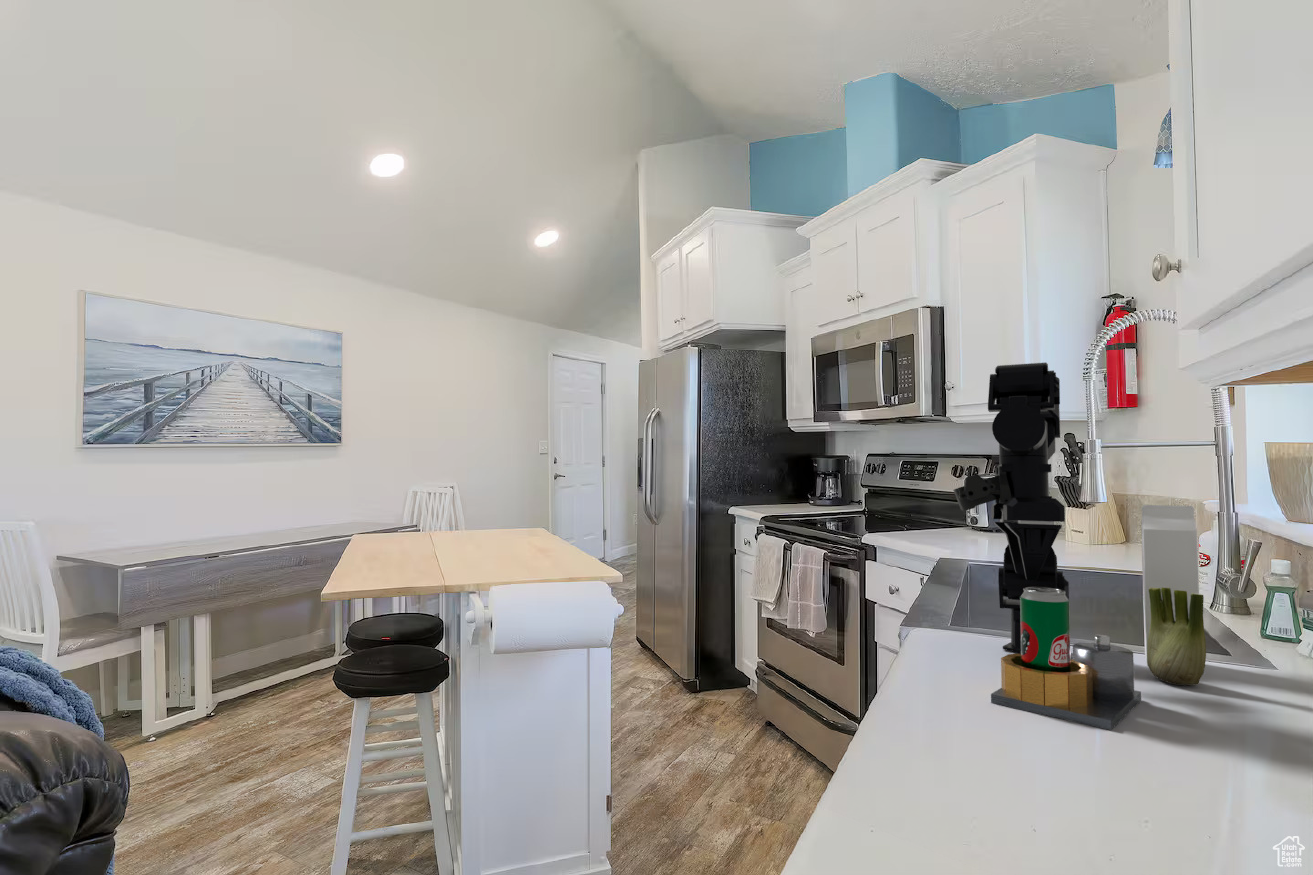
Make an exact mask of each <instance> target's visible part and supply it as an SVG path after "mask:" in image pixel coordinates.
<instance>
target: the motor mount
mask: <svg viewBox="0 0 1313 875" xmlns="http://www.w3.org/2000/svg"><path fill="white" fill-rule="evenodd" d="M1134 665H1135V664H1134V651H1132V650H1130V649H1129V648H1125V647H1122V646H1119V645H1118V646H1117V645H1114V644H1111V637H1110V635H1105V634H1094V635H1093V642H1077V643H1074V644H1072V658H1071V672H1065V673H1060V672H1046V671H1040V670H1034V669H1029V668H1025V667H1022V666H1021V653H1020V652H1018V653H1009V654H1006V655H1004V656H1002V657H1001V658H1000V667H1001V668H1000V672H1001V674H1000V675H1001V676H1000V678H1001V679H1000V680H1001V687H1000V688H999V689H997V690H995V691H993V692H992V693H990V703H992V704H995V705H1000V706H1005V707H1009V708H1013V709H1017V710H1022V711H1026V712H1031V713H1034V714H1039V715H1043V716H1048V717H1053V718H1056V719H1060V720H1064V721H1069V722H1074V723H1079V724H1083V725H1087V726H1091V727H1096V728H1099V729H1103V730H1104V729H1105V730H1109V731H1112V730H1113V729H1114V728H1115V727H1116V726H1117V725H1118V724H1119V723H1120V722H1121V721H1122V720H1123V719H1124V718H1125V717H1126V716H1127V715H1128V714H1130V712H1131V711H1132V710H1133V709H1134V708H1135V707H1136V706H1137V705H1138V704H1139V703H1140V702H1142V691H1139V690H1135V672H1134V668H1135V666H1134Z"/></svg>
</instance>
